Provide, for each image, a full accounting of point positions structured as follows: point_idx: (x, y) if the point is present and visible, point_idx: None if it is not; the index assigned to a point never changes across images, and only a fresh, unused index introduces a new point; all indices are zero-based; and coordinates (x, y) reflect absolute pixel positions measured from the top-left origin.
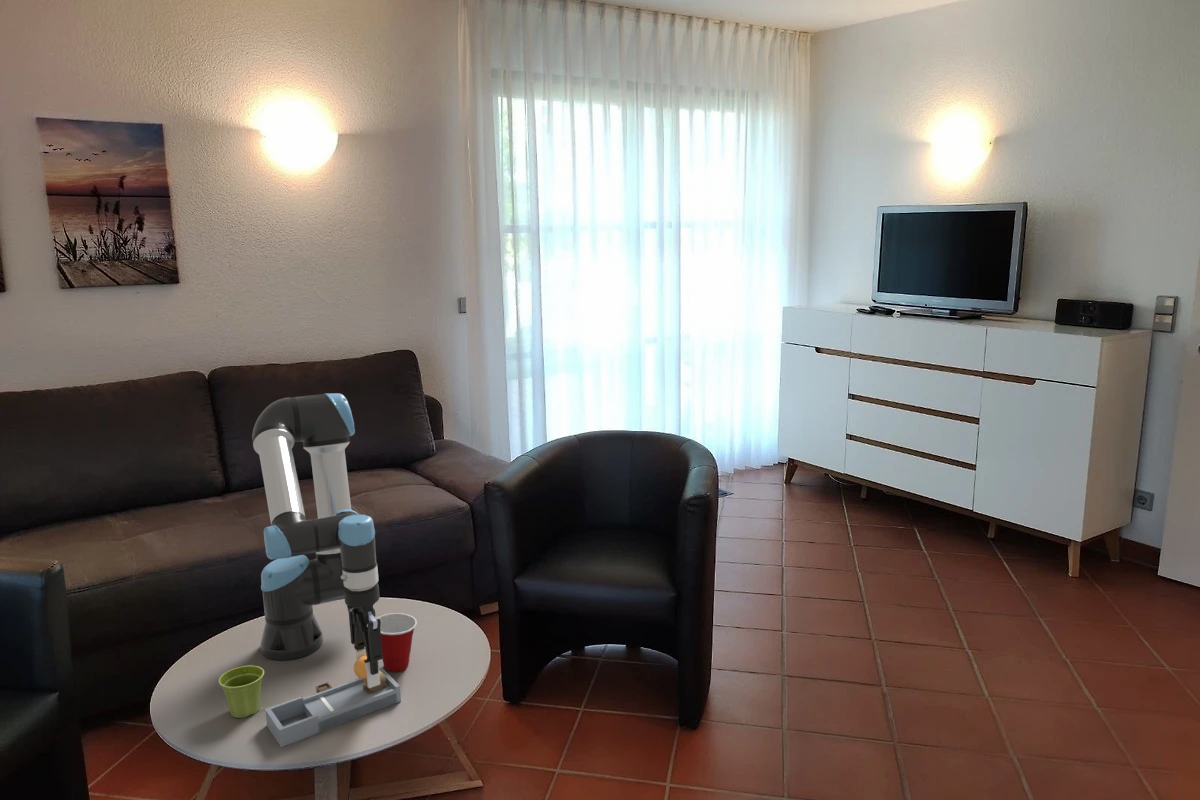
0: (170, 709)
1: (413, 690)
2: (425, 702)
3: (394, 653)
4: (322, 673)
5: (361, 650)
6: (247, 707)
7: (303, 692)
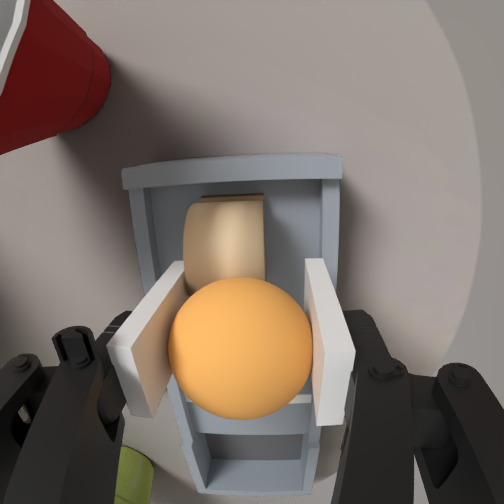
0: None
1: (279, 79)
2: (389, 85)
3: (69, 89)
4: (24, 304)
5: (138, 392)
6: (150, 483)
7: None
